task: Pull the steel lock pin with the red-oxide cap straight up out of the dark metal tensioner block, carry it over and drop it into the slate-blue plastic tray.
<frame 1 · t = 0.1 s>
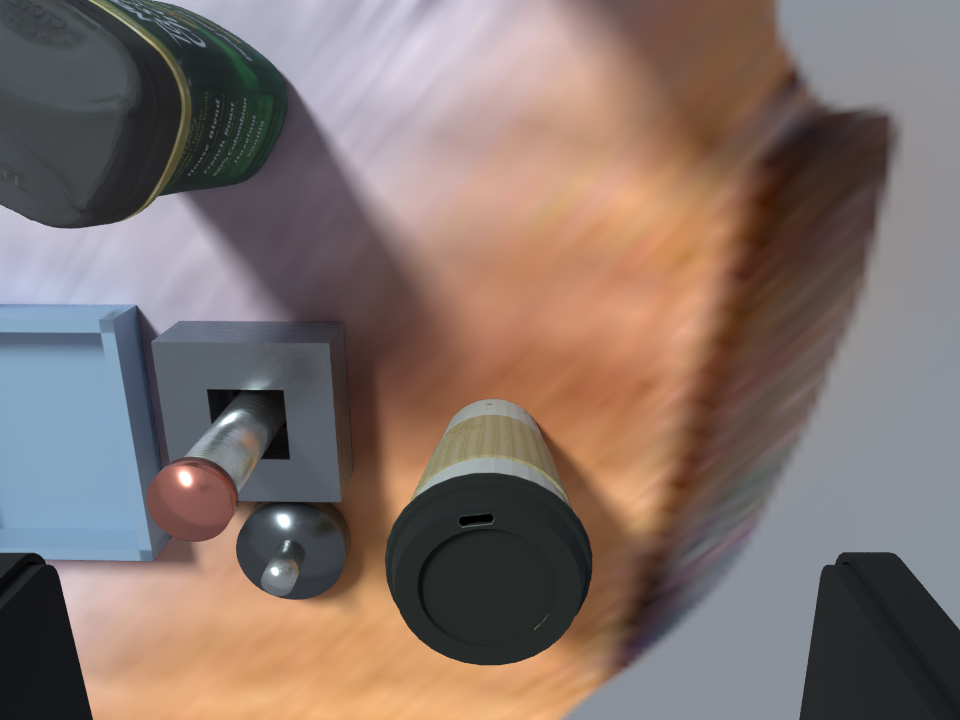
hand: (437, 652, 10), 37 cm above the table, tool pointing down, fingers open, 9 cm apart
lock pin: (269, 398, 49), resting in tensioner block
tray: (55, 425, 50), on the table
dark knobbed lid: (298, 536, 52), on the table
coffee jar: (203, 94, 43), on the table
coffee cup: (492, 442, 49), on the table
tensioner block: (269, 398, 49), on the table
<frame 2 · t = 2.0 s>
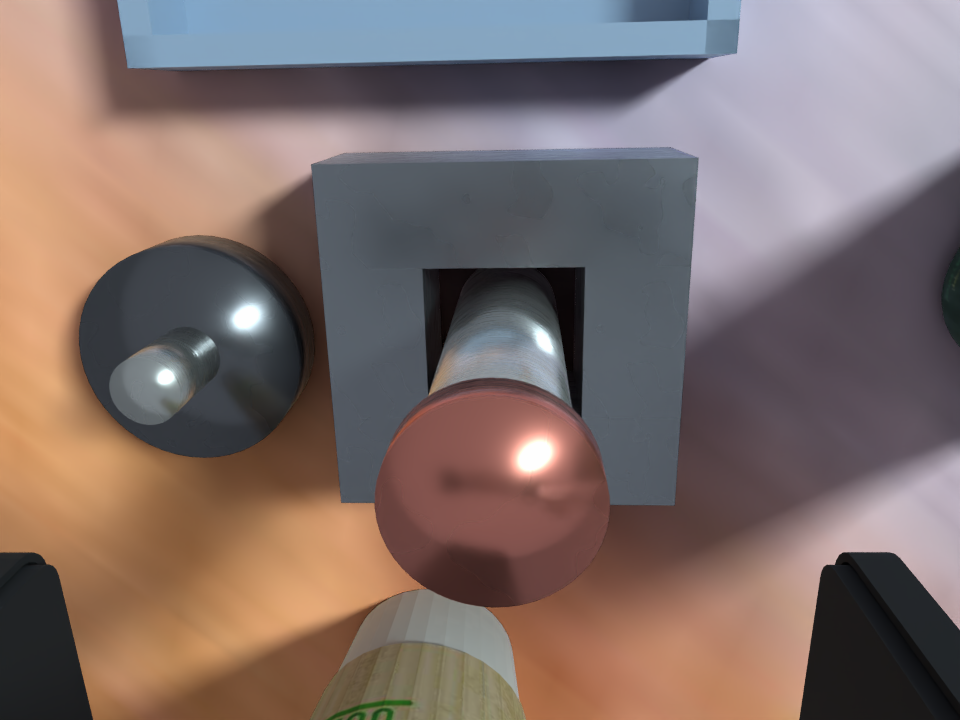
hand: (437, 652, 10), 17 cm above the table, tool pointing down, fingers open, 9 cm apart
lock pin: (507, 307, 25), resting in tensioner block
dark knobbed lid: (212, 338, 26), on the table
coffee cup: (433, 652, 30), on the table
tensioner block: (507, 307, 25), on the table
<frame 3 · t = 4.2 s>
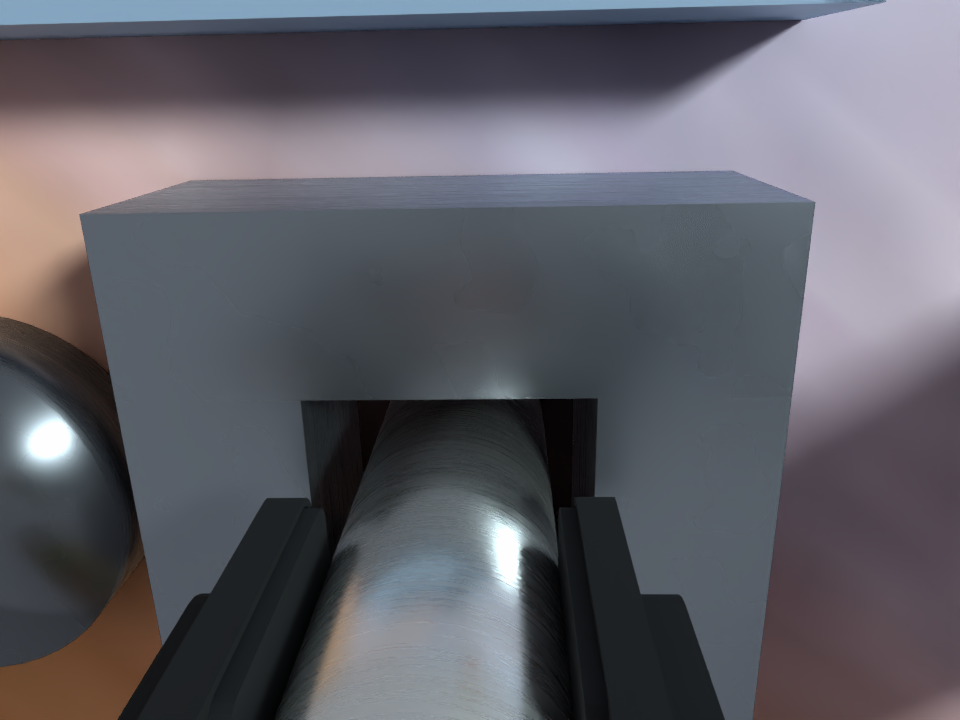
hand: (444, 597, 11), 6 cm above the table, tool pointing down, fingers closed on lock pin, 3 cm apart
lock pin: (465, 423, 16), resting in tensioner block, touching gripper
dark knobbed lid: (1, 469, 17), on the table
tensioner block: (465, 424, 16), on the table
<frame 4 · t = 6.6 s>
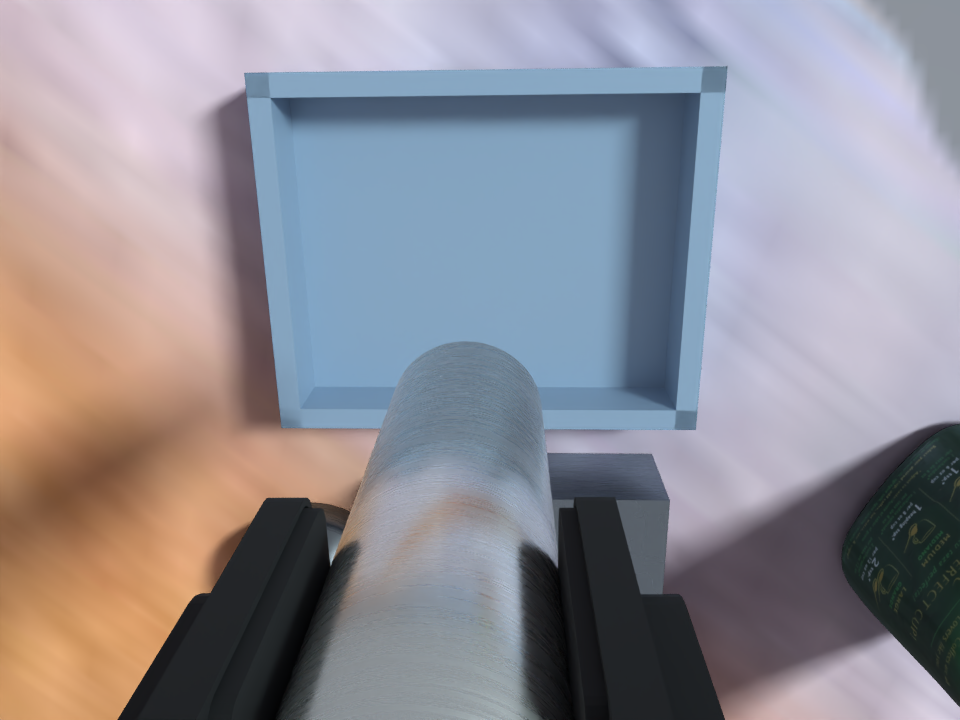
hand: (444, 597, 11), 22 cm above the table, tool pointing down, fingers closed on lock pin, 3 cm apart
lock pin: (466, 412, 17), point 15 cm above the table, touching gripper
tray: (487, 247, 31), on the table
dark knobbed lid: (317, 569, 36), on the table
coffee jar: (945, 515, 34), on the table
tensioner block: (533, 552, 35), on the table
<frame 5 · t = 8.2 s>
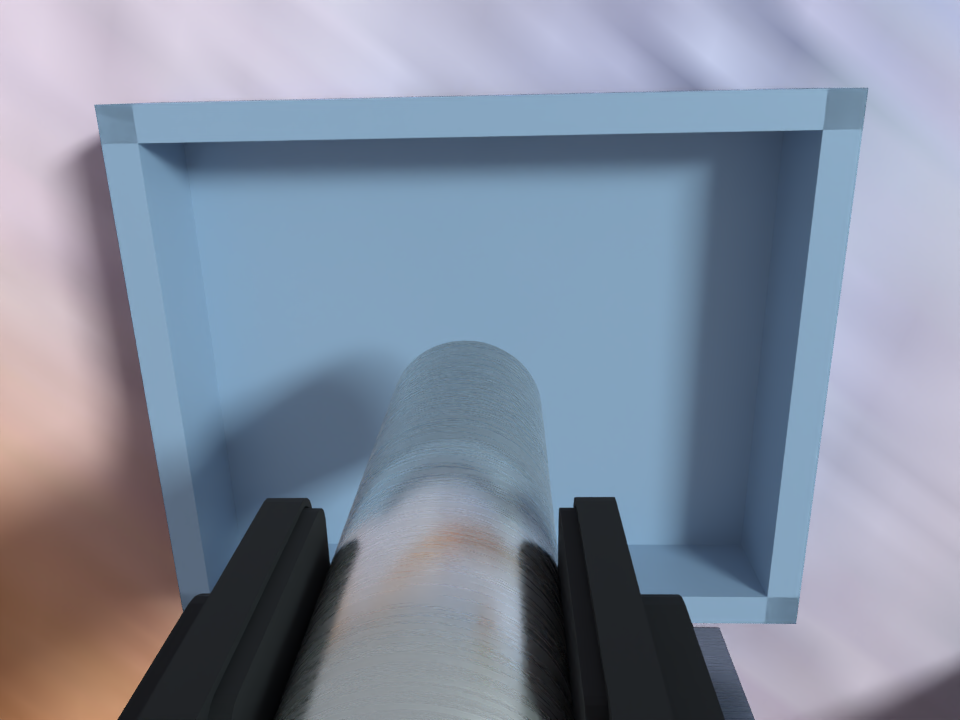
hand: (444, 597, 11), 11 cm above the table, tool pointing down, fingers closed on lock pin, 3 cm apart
lock pin: (466, 411, 17), point 5 cm above the table, touching gripper
tray: (483, 349, 21), on the table
when the fingers open (8 cm above the table, at t = 9.4 s): lock pin stays where it is, resting on tray.
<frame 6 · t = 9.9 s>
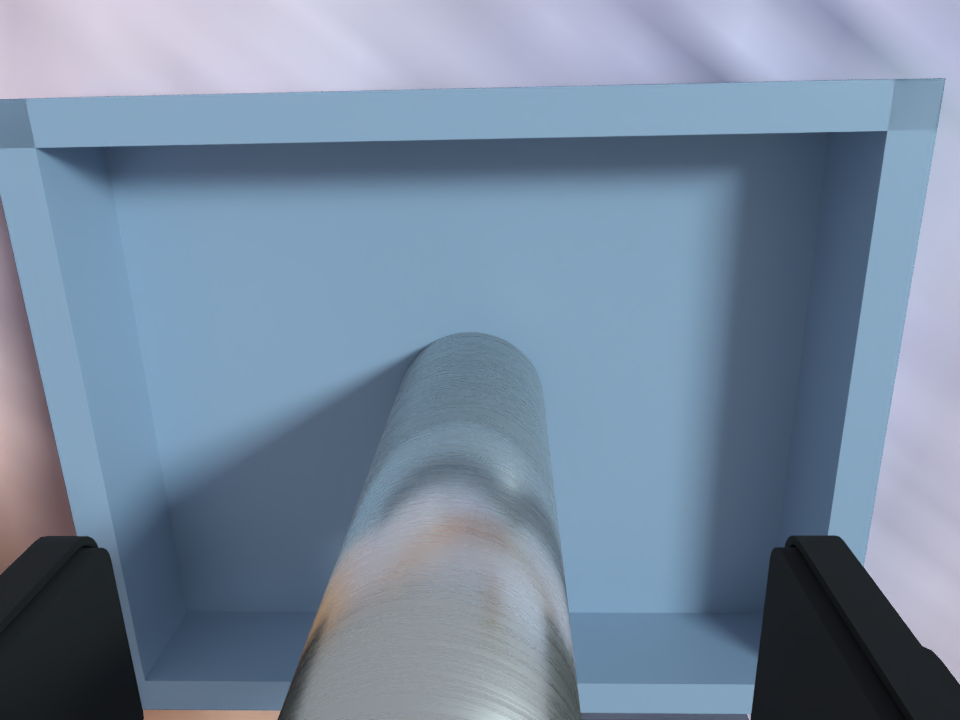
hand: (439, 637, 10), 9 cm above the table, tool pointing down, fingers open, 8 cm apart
lock pin: (471, 400, 17), point 1 cm above the table, touching tray
tray: (469, 388, 18), on the table
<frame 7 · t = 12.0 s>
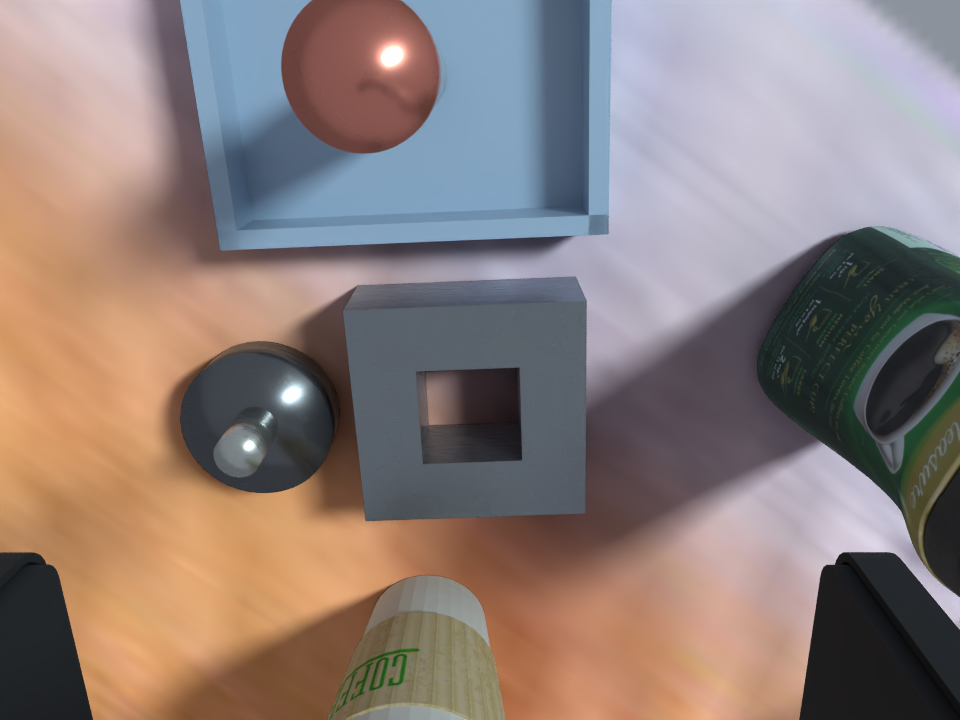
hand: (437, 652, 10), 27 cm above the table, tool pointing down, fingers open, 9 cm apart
lock pin: (408, 75, 32), point 1 cm above the table, touching tray
tray: (408, 73, 32), on the table
dark knobbed lid: (267, 409, 38), on the table
coffee jar: (852, 326, 36), on the table
coffee cup: (428, 620, 42), on the table
tensioner block: (471, 382, 37), on the table
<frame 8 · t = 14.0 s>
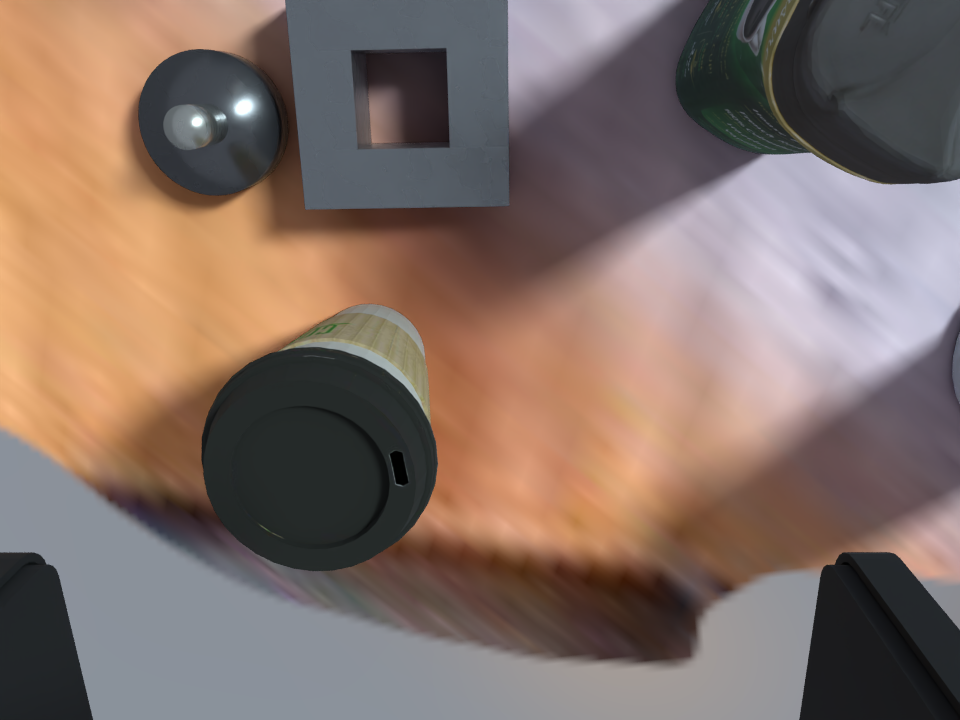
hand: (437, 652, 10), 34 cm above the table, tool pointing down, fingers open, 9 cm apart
dark knobbed lid: (222, 122, 41), on the table
coffee jar: (767, 48, 39), on the table
coffee cup: (372, 354, 45), on the table
tensioner block: (411, 98, 40), on the table
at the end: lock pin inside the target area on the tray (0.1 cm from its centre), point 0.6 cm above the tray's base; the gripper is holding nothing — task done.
